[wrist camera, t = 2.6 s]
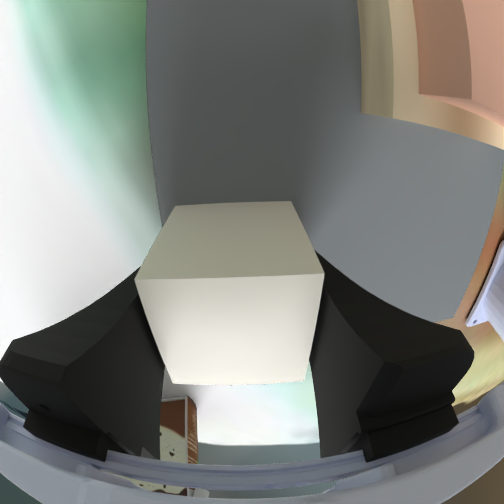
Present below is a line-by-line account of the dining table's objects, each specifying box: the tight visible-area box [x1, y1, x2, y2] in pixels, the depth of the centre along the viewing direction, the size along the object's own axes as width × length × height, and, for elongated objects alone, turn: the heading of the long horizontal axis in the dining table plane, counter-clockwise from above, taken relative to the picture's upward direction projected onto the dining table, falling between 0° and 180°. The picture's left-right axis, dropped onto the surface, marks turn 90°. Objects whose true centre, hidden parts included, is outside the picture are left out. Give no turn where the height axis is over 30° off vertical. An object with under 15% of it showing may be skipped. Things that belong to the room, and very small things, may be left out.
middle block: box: [412, 0, 504, 127], centre depth 4 cm, size 6×6×2 cm
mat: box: [146, 0, 504, 322], centre depth 9 cm, size 18×24×1 cm
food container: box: [107, 396, 209, 498], centre depth 17 cm, size 12×6×10 cm, turn 111°
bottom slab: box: [357, 0, 504, 150], centre depth 6 cm, size 8×8×2 cm
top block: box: [134, 201, 325, 385], centre depth 10 cm, size 5×5×5 cm
